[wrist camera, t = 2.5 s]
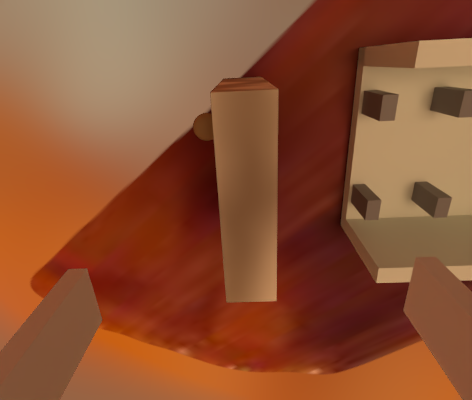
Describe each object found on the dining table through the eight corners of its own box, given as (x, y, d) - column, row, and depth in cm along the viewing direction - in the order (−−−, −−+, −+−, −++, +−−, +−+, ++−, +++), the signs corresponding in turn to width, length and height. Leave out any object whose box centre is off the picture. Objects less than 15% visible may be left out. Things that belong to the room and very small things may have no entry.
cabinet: (555, 37, 27) (719, 24, 18) (493, 219, 34) (586, 276, 25) (359, 47, 27) (419, 40, 18) (340, 224, 35) (376, 283, 26)
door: (261, 76, 28) (278, 89, 16) (262, 211, 34) (276, 300, 21) (205, 79, 29) (177, 94, 16) (216, 213, 34) (202, 302, 22)
